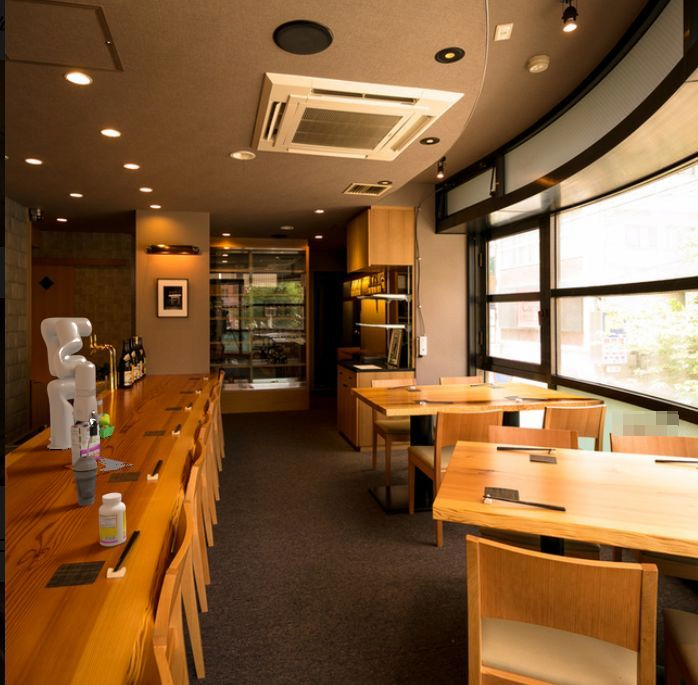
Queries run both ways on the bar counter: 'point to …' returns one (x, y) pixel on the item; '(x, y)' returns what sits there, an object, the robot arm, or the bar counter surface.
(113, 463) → the mat
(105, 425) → the fruit basket
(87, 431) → the candy bar box
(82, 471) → the beverage cup
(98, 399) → the mug
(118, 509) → the supplement bottle
